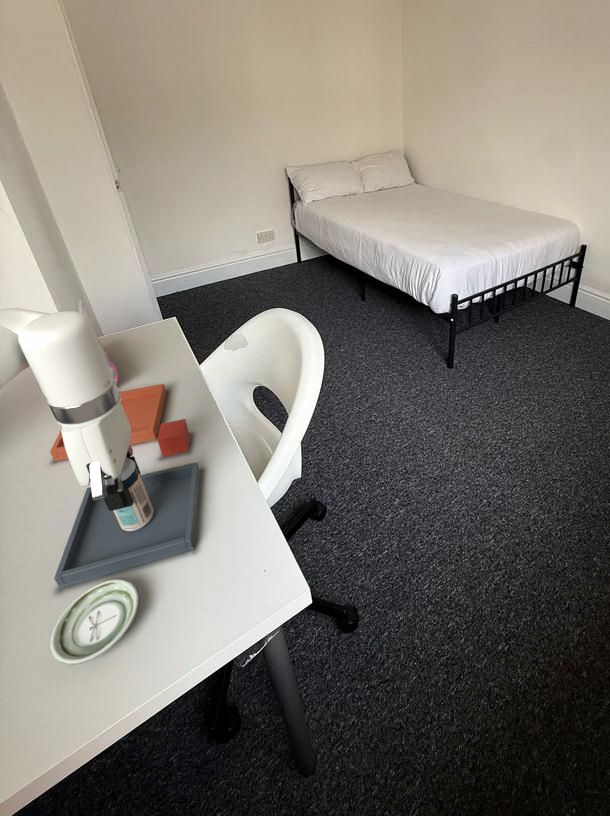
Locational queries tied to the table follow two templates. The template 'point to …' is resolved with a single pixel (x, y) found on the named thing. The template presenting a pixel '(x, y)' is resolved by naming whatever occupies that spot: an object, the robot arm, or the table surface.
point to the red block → (173, 437)
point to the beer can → (141, 507)
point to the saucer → (94, 622)
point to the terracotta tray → (132, 416)
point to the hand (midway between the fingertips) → (125, 490)
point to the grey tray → (121, 550)
